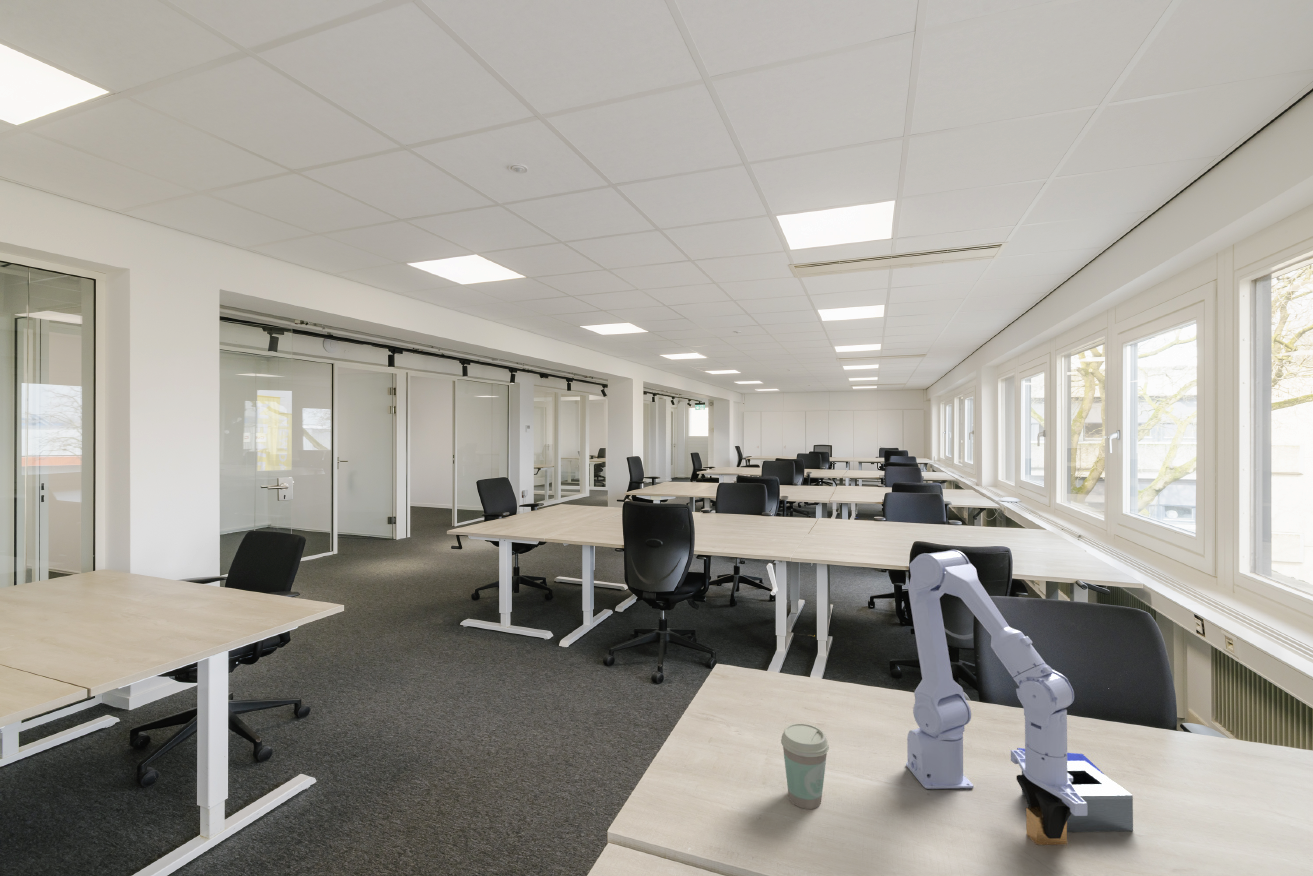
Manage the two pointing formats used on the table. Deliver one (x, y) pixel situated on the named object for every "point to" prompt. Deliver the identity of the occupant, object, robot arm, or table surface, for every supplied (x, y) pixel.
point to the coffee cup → (805, 763)
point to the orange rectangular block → (1041, 828)
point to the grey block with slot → (1099, 801)
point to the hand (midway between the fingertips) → (1046, 830)
